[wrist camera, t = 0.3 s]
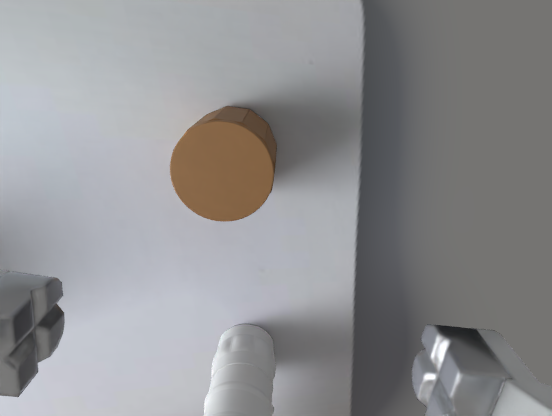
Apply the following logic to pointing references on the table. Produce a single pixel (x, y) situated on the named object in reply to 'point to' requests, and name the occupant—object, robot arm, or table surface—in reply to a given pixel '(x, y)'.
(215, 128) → the brown cylinder
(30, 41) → the table surface
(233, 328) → the binoculars
